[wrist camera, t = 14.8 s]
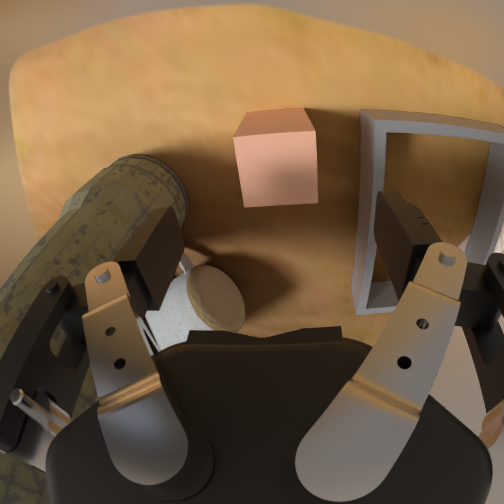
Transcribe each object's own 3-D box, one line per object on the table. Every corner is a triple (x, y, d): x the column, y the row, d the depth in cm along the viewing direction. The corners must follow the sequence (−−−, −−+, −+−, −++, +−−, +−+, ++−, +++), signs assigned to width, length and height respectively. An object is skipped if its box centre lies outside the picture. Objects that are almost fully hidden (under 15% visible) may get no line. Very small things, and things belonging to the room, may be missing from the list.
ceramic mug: (254, 290, 29) (246, 353, 23) (203, 320, 33) (189, 376, 27) (174, 221, 25) (141, 279, 19) (130, 265, 29) (100, 319, 23)
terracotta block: (303, 108, 18) (315, 131, 13) (307, 159, 21) (318, 203, 15) (246, 112, 19) (232, 137, 13) (253, 163, 21) (244, 207, 16)
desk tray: (460, 278, 26) (472, 300, 24) (350, 289, 28) (356, 315, 26) (498, 124, 16) (522, 138, 13) (360, 109, 18) (374, 119, 15)
